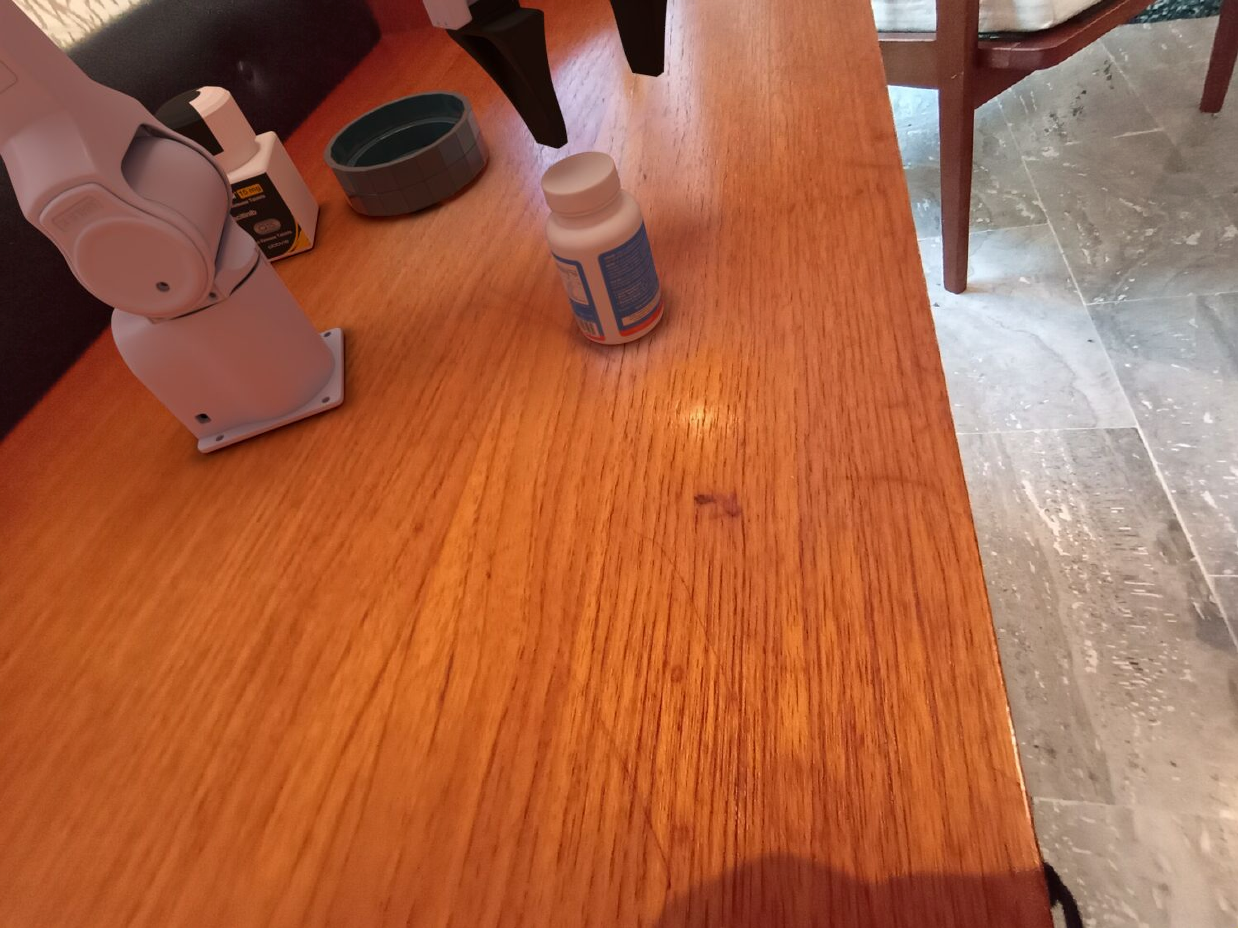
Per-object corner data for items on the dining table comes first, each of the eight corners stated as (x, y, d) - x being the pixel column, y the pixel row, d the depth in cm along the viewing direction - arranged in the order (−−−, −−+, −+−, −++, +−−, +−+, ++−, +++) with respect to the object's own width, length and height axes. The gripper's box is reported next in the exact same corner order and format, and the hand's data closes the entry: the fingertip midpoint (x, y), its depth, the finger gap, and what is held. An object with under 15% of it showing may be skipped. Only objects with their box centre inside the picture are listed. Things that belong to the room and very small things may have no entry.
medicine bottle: (232, 275, 60) (126, 135, 51) (245, 232, 65) (150, 96, 56) (314, 249, 60) (222, 103, 51) (320, 207, 65) (237, 66, 56)
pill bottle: (667, 285, 46) (635, 135, 39) (662, 342, 43) (626, 190, 35) (584, 295, 47) (537, 153, 40) (572, 352, 44) (520, 207, 37)
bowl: (351, 239, 59) (322, 189, 56) (350, 171, 68) (325, 124, 65) (500, 186, 59) (479, 133, 56) (480, 125, 68) (461, 75, 65)
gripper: (427, -152, 26) (552, 193, 36) (698, -292, 30) (741, 50, 40) (337, -141, 30) (472, 165, 40) (586, -265, 34) (651, 39, 44)
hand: (601, 106), depth 40 cm, fingers open, 7 cm apart
